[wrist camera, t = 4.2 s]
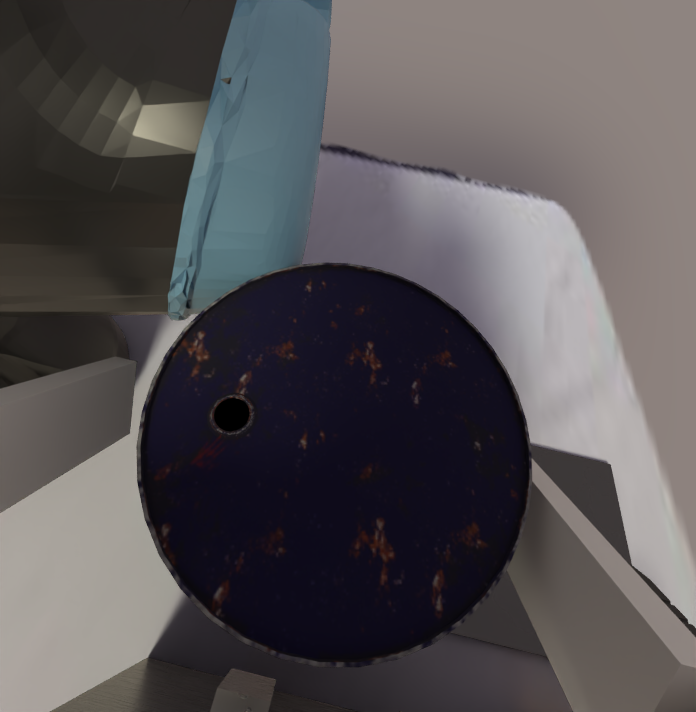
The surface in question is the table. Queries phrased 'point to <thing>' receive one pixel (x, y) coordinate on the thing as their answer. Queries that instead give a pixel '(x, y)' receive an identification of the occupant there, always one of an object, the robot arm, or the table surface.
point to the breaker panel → (273, 708)
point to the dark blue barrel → (334, 465)
